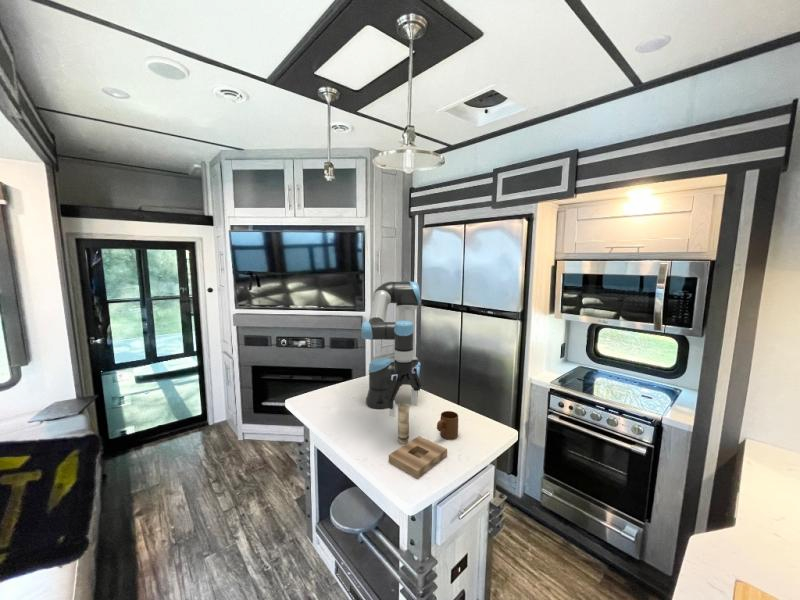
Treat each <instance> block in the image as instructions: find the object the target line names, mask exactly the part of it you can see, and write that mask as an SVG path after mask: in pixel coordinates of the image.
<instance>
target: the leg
mask: <svg viewBox="0 0 800 600" xmlns="http://www.w3.org/2000/svg"><path fill="white" fill-rule="evenodd" d="M409 437H410V405H409V404H408V403H406V402H401V403H398V405H397V438H398V440H399V441H398V443H399V444H400V445H402V446H404V445H405V444H407V443H408V442H409Z"/></svg>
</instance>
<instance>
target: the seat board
mask: <svg viewBox="0 0 800 600" xmlns="http://www.w3.org/2000/svg"><path fill="white" fill-rule="evenodd" d="M447 457H448V448H446V447H444V446H442V445H440V444H437V443H435V442H433V441H431V440H429V439H427V438H425V437H422V436H420V435H418V436H416V437H415V438H413V439H412V440H410V441H408V443H407V444H404V445H401V446H400V447H398V448H397V449H396V450H394V451H392V452H391V453H389V454H388V463H389V464H390V465H393V466H394V467H396V468H398V469H399V470H401V471H403V472H404V473H406V474H408V475H410V476H412V477H414V478H415V479H417V480H418V479H420V478H421V477H422V476H424V475H425V474H426V473H427V472H428V471H430V470H431V469H433V468H435V466H437V465H438V464H439V463H441V461H442V462H443V460H444V459H446V458H447Z"/></svg>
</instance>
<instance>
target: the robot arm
mask: <svg viewBox="0 0 800 600" xmlns="http://www.w3.org/2000/svg"><path fill="white" fill-rule="evenodd" d="M420 290H421V289H420V286H419V283H418V282H417V281H387V282H383V283H382V284H381V285H379V286H378V287H377V288H375V290H374V291H373V294H372V302H373V303H372V305H371V310H370V313H369V318H368V321H364V322H362V323H361V337H362V339H364V340H375V341H376V340H392V341H394V361H393V360H392V359H391V358H389V357H382V358H376V359H374V360H372V361H370V363H369V366H368V392H367V395H366V397H365V405H366V406H367V407H369V408H371V409H374V410H382V409H383V410H384V409H388V416H390V417H392V418H395V417H396V400H395V398H396V397H397V394H398V393H399V390H400V388H401V387H402V386H406V385H407V386H410V387H411V388H412V389H410V403H411V404H410V405H412V406H415V407H417V406H418V395H419V392H420V390H421V388H422V383H421V381H420V371H421V362H420V361H418V360H419V359H418V357H417V356H416V310H417V308H419V305H420V304H422V300H421V292H420ZM389 304H395V305H396V308H397V309H398V320H397V321H392V322H390V321H386V320H387V315H388V309H389V307H388V306H389Z"/></svg>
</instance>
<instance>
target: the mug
mask: <svg viewBox="0 0 800 600" xmlns="http://www.w3.org/2000/svg"><path fill="white" fill-rule="evenodd" d="M436 430H437V431H438V432H440V433H439V435H440V436H441V437H442V438H443V439H444V440H450V441H451V440H455V439H457V438H458V435H459V414H458V413H457V412H455V411H452V410H446V411H442V412H441V413H440V420H438V421H437V423H436Z"/></svg>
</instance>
